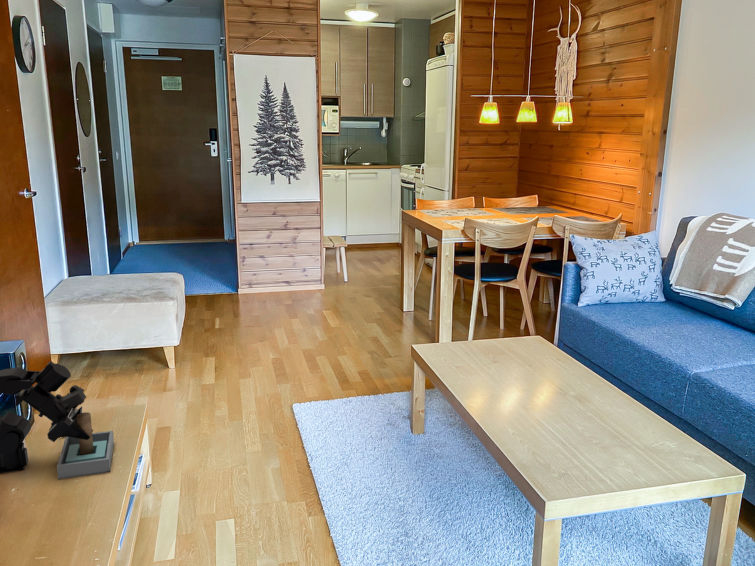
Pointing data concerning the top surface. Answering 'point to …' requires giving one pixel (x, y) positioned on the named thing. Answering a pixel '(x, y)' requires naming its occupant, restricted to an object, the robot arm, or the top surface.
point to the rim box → (86, 456)
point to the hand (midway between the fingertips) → (90, 435)
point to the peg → (85, 424)
